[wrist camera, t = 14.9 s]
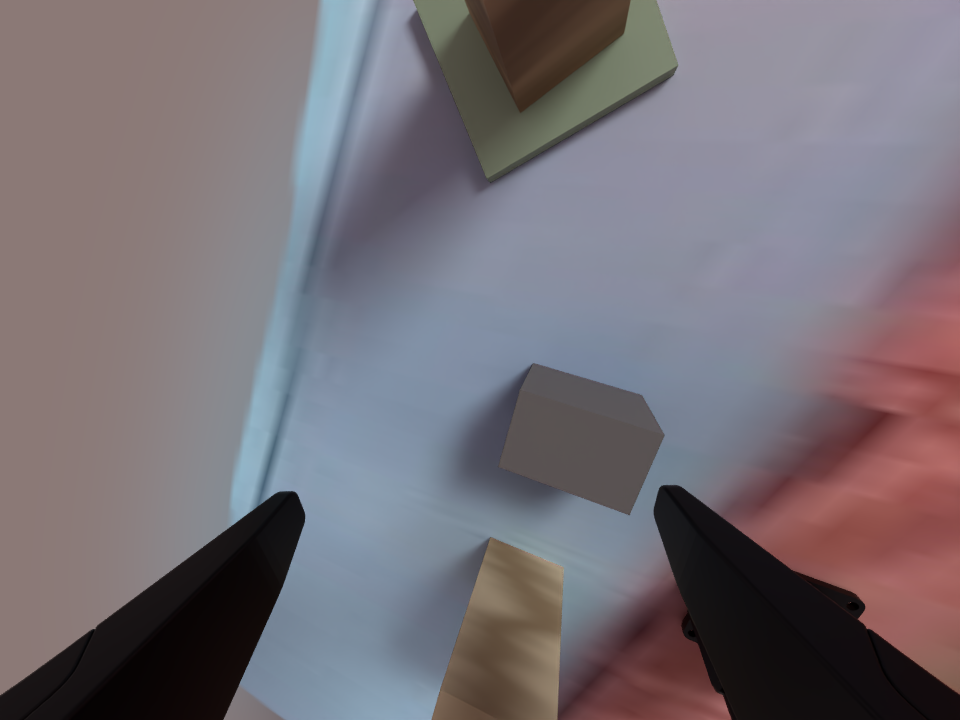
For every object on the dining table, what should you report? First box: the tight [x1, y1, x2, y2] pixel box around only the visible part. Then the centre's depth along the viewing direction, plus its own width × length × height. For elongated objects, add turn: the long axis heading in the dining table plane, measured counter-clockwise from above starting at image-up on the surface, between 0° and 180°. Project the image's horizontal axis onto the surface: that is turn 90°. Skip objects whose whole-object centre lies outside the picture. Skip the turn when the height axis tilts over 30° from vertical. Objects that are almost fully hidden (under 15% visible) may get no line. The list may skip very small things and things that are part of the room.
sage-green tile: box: [413, 0, 678, 183], centre depth 16 cm, size 9×9×2 cm
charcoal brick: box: [498, 363, 664, 515], centre depth 17 cm, size 6×4×5 cm, turn 77°
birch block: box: [432, 537, 564, 720], centre depth 19 cm, size 5×5×9 cm
